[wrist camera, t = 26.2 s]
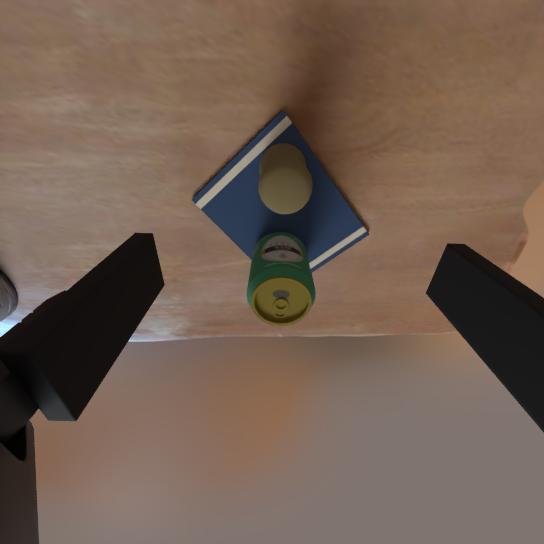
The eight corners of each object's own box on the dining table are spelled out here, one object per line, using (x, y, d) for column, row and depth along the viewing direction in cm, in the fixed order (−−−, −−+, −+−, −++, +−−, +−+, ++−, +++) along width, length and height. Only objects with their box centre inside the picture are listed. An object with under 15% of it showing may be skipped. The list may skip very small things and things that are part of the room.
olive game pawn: (315, 158, 32) (332, 176, 22) (291, 201, 34) (297, 233, 25) (272, 133, 30) (271, 140, 21) (251, 179, 33) (242, 205, 24)
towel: (192, 198, 35) (191, 199, 35) (283, 110, 29) (283, 109, 29) (283, 289, 43) (283, 291, 42) (368, 233, 37) (369, 234, 37)
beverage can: (309, 230, 37) (322, 275, 27) (302, 276, 41) (311, 330, 31) (253, 227, 37) (245, 271, 26) (252, 274, 41) (245, 327, 31)
